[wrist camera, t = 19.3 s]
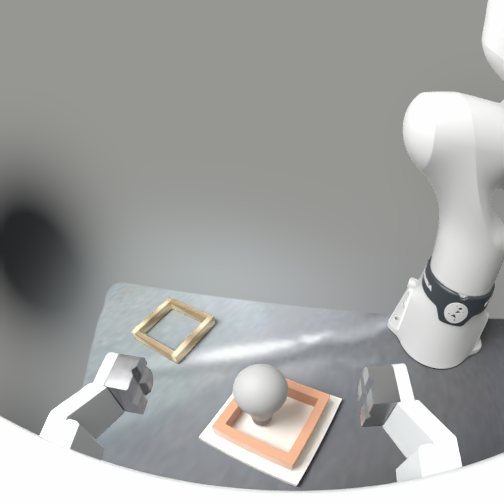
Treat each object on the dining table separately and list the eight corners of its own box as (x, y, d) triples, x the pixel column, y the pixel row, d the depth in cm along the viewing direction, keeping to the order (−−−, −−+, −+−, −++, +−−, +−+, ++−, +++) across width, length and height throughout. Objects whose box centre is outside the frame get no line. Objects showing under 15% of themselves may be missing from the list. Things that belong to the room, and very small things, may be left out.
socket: (253, 368, 45) (252, 355, 43) (340, 402, 39) (344, 389, 37) (200, 439, 35) (194, 429, 34) (296, 486, 29) (298, 480, 27)
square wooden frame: (171, 304, 58) (169, 297, 58) (215, 323, 54) (213, 316, 53) (134, 338, 51) (131, 331, 50) (177, 364, 46) (175, 357, 46)
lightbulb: (255, 448, 33) (250, 410, 27) (230, 414, 38) (219, 368, 32) (294, 424, 36) (301, 380, 30) (268, 394, 40) (267, 344, 34)
